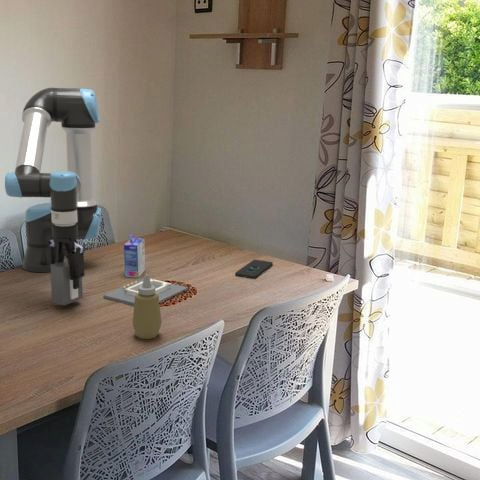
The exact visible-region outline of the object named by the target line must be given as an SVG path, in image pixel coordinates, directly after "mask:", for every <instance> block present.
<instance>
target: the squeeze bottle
mask: <svg viewBox="0 0 480 480" xmlns="http://www.w3.org/2000/svg"><path fill="white" fill-rule="evenodd" d="M143 279H144V280H143V284H142V285H141V286H139V287H138V294H137V295H136V296H135V302H134V306H133V314H132V324H131V325H132V327H133V329H134V332H135V336H136V337H137V338H139V339H141V340H142V339H143V340H151V339H154V338H156V337H158V334H159V332H160V329H161V326H162V314H161V304H159V296H158V294H156V293H155V286H153V285H151V281H150V279H151V278H150V274H149V273H145V274H144V276H143Z"/></svg>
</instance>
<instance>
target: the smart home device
mask: <svg viewBox="0 0 480 480" xmlns="http://www.w3.org/2000/svg"><path fill="white" fill-rule="evenodd" d="M271 267H273V261H269V260H262V259H253V260H251V261H250V262H249V263H247V264H246V265H244V266H243V267H241V268H239V270H237V271H236V272H235V275H234V277H238V278H245V279H250V280H255V279H257V278H259V276H261V275H263V274H264V273H265V272H266V271H268V270H269V269H270V268H271Z"/></svg>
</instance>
